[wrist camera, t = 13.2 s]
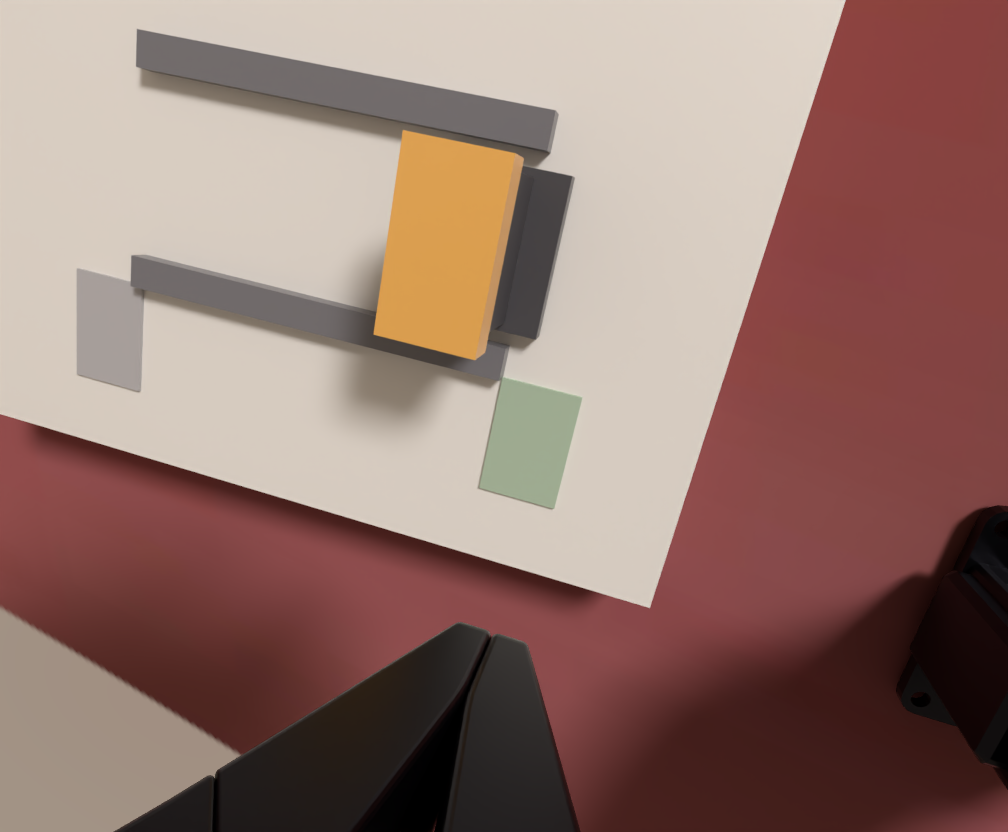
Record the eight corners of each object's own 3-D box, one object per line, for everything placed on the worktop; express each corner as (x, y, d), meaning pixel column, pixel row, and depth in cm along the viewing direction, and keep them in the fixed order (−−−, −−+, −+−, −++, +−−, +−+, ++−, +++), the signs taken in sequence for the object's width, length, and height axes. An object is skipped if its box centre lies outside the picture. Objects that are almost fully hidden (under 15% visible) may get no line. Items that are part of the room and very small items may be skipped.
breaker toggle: (574, 177, 14) (550, 160, 11) (539, 336, 15) (506, 368, 12) (437, 149, 15) (370, 122, 11) (412, 305, 16) (344, 327, 12)
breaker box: (840, -60, 15) (896, -143, 11) (649, 553, 20) (649, 618, 16) (74, -173, 18) (-59, -266, 14) (75, 388, 22) (-23, 416, 19)
